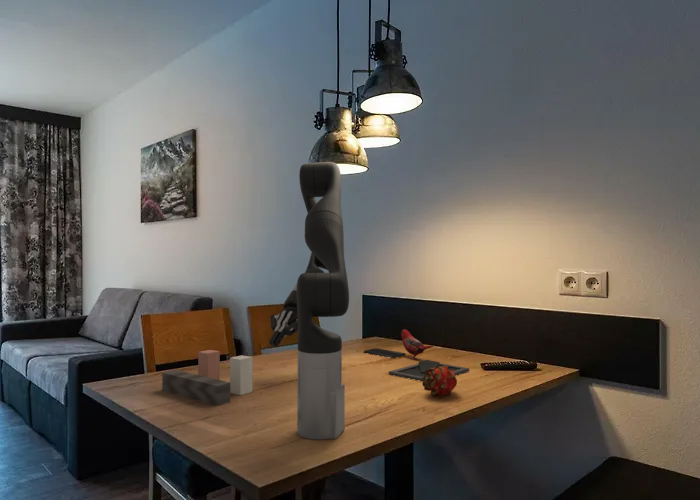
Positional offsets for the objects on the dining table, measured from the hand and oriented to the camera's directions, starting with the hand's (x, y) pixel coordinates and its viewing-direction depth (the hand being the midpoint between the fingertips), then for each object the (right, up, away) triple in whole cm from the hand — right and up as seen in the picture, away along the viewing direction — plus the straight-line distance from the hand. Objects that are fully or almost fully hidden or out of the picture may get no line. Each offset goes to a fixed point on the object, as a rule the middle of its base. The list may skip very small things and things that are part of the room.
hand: (272, 345), depth 141 cm
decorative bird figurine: (+45, -12, +38) cm, 60 cm away
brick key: (-17, -11, -1) cm, 20 cm away
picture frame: (+46, -13, +19) cm, 52 cm away
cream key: (-7, -10, -9) cm, 16 cm away
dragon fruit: (+45, -12, -6) cm, 47 cm away
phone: (+34, -13, +48) cm, 61 cm away
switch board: (-15, -12, -9) cm, 21 cm away
